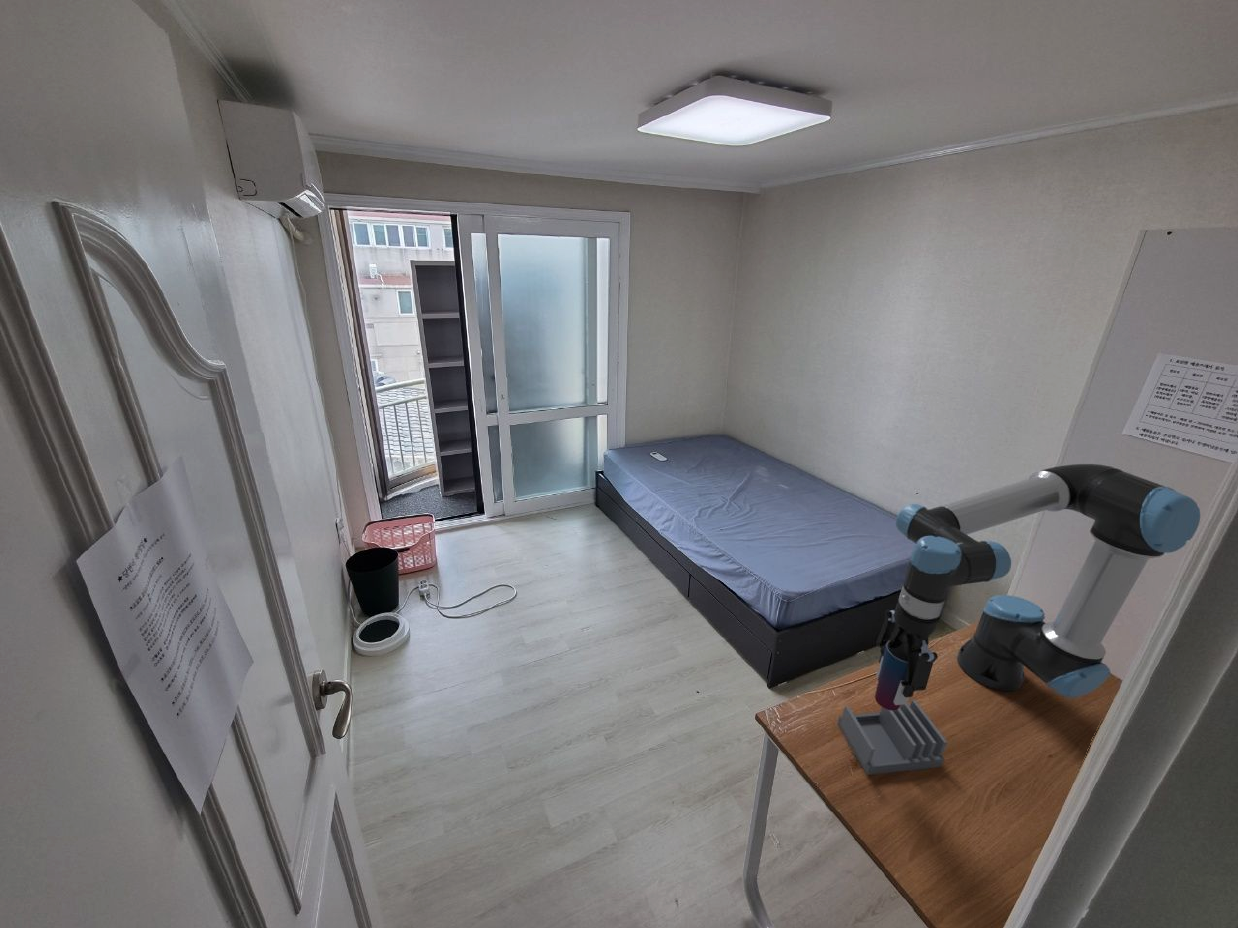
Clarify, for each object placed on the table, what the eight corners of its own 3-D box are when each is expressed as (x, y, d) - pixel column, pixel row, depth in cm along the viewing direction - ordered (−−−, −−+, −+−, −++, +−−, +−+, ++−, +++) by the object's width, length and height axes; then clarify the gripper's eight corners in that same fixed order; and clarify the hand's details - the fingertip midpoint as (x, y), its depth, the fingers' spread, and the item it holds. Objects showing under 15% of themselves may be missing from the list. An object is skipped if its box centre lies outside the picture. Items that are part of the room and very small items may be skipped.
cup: (908, 716, 108) (927, 665, 101) (874, 711, 109) (891, 660, 103) (899, 691, 114) (916, 641, 108) (867, 686, 115) (882, 636, 109)
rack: (905, 716, 125) (912, 696, 122) (941, 766, 113) (950, 745, 110) (837, 723, 123) (843, 702, 120) (866, 774, 111) (873, 753, 108)
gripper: (874, 579, 109) (852, 658, 118) (933, 644, 91) (901, 730, 101) (906, 577, 109) (881, 656, 119) (970, 641, 92) (935, 727, 102)
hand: (890, 690), depth 110 cm, fingers closed on cup, 6 cm apart
